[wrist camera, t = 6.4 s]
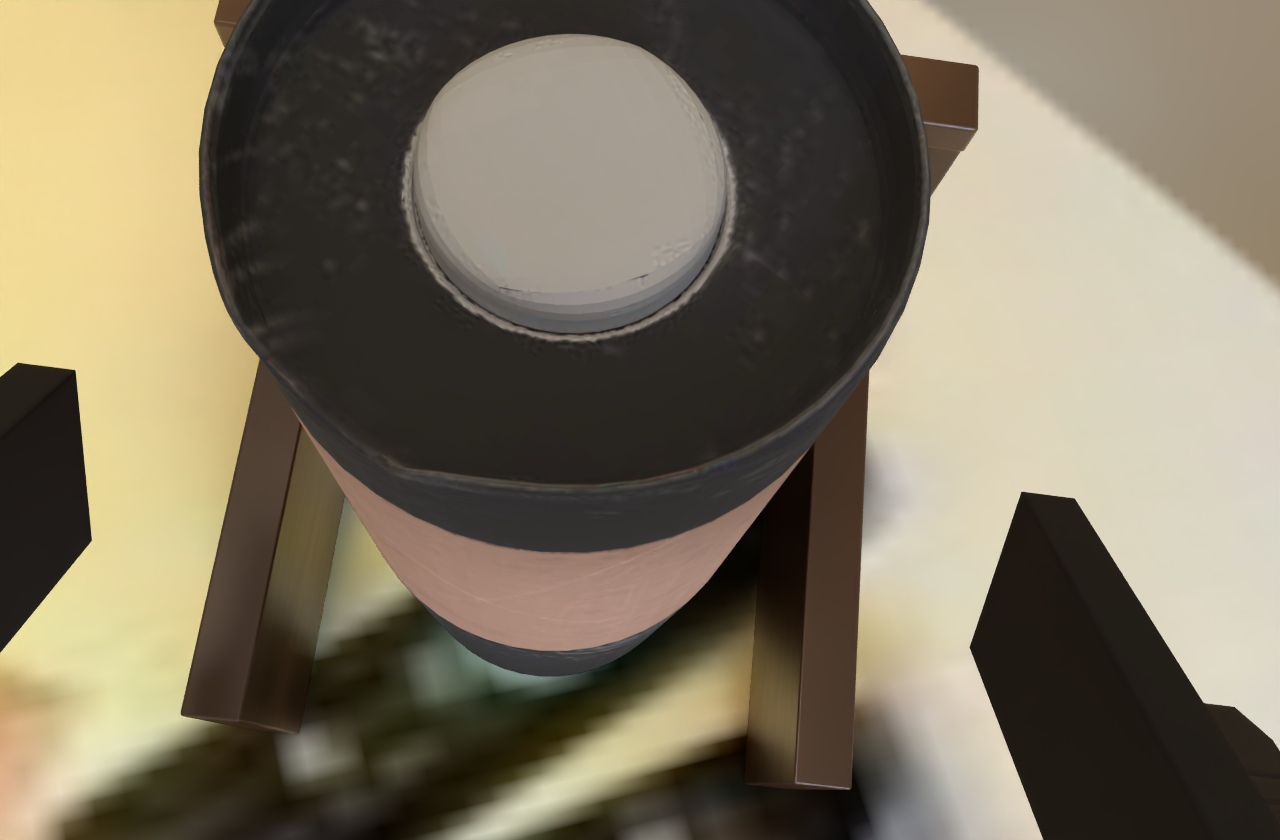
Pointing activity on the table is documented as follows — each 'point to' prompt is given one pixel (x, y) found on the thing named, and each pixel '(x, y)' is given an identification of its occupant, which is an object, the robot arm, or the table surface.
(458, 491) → the travel mug
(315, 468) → the shelf rack
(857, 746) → the table surface
